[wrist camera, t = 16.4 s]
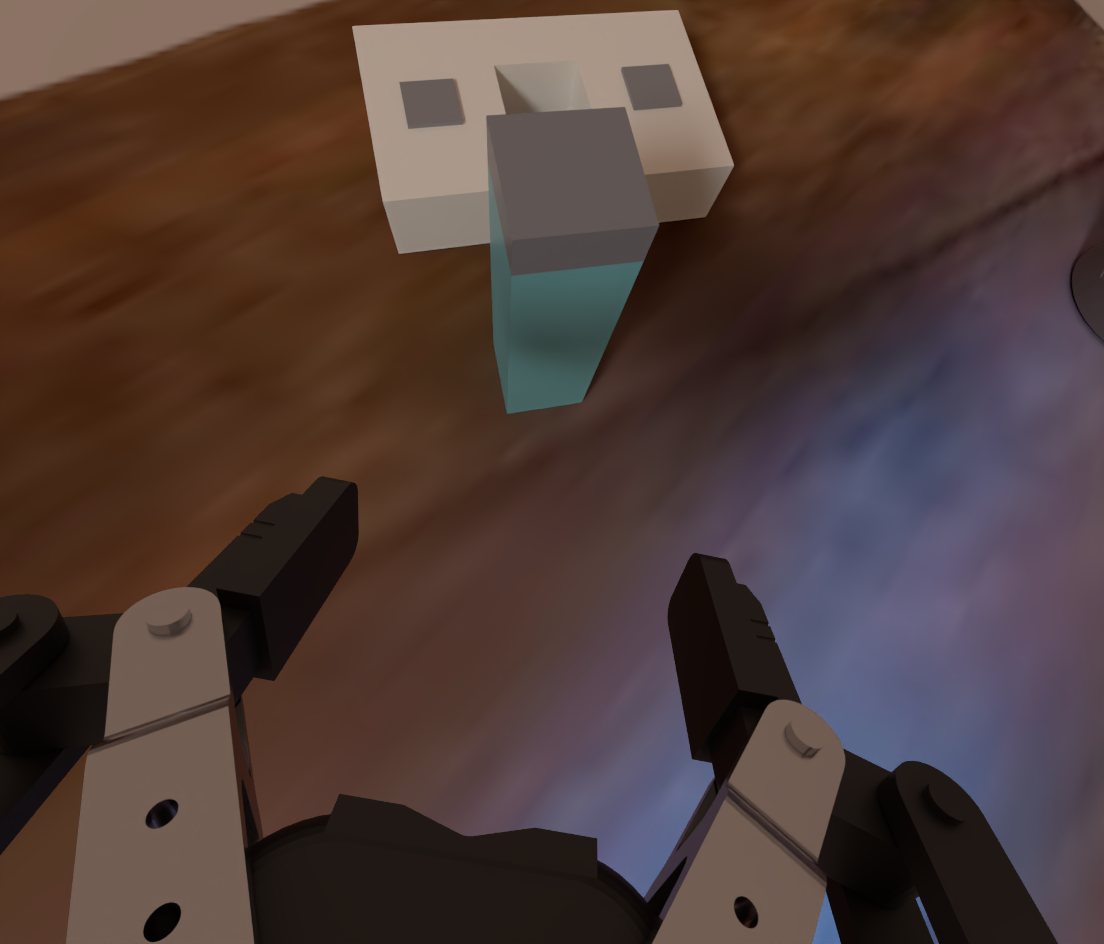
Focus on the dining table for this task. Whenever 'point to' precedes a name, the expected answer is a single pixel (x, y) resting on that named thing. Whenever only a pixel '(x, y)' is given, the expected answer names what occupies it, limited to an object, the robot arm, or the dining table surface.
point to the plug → (562, 246)
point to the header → (529, 110)
